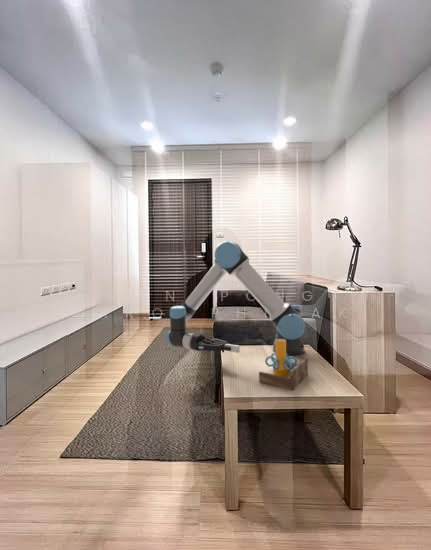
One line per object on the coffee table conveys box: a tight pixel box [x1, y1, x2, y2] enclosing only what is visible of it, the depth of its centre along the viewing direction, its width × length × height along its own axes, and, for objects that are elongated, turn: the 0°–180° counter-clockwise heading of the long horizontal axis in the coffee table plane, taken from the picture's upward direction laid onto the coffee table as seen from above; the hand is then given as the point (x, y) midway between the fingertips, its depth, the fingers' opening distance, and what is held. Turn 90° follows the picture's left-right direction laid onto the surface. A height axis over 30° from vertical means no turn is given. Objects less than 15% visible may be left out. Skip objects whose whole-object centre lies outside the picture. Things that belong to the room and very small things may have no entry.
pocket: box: [258, 357, 309, 392], centre depth 122 cm, size 16×13×7 cm
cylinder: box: [264, 339, 298, 378], centre depth 124 cm, size 12×10×15 cm
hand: (238, 349), depth 133 cm, fingers closed
